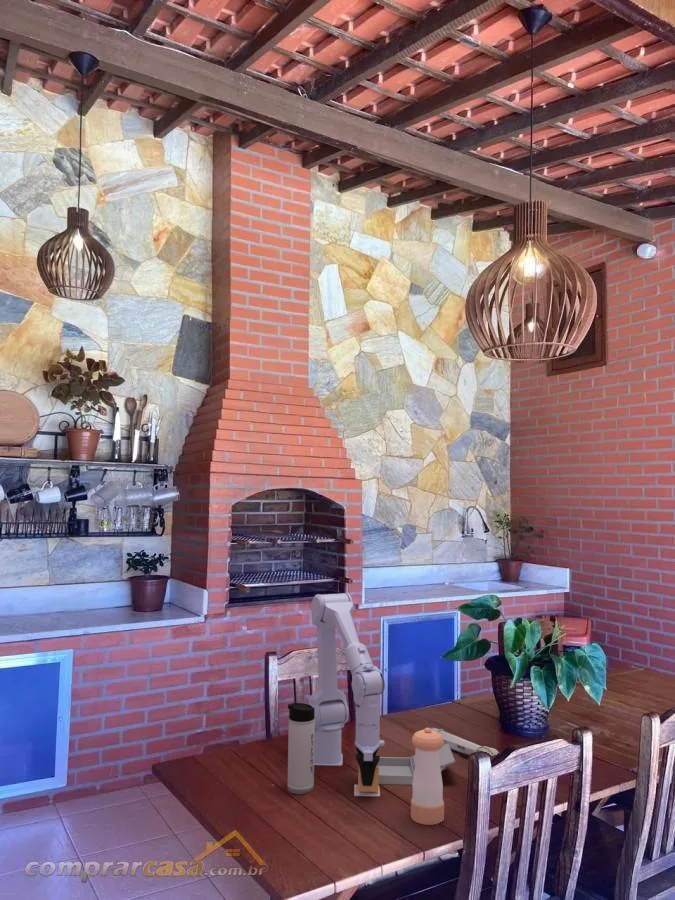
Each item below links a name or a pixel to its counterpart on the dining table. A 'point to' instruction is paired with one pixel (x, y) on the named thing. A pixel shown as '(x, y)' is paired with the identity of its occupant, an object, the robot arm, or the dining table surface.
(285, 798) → the dining table surface
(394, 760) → the case
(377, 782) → the block
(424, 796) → the pepper shaker
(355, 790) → the mat
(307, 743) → the travel mug
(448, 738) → the white elongated piece
